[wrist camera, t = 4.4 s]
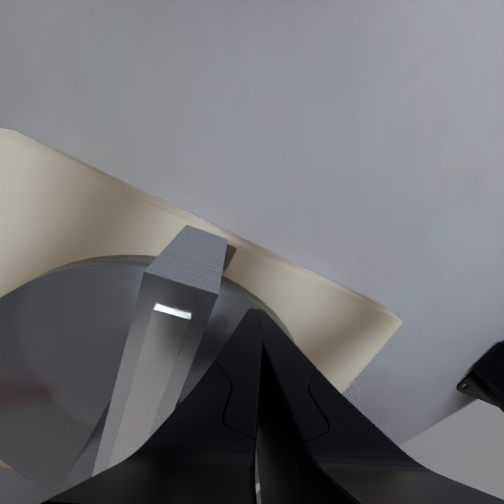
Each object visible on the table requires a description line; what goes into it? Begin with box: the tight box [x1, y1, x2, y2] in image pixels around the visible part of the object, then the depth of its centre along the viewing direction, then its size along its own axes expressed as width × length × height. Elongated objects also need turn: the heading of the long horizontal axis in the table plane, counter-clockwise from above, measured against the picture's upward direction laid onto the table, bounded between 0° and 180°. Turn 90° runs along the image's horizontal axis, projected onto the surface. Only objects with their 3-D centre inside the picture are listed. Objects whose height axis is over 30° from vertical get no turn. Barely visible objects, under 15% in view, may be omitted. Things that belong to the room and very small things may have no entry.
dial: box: [0, 225, 296, 493], centre depth 10 cm, size 19×17×5 cm
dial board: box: [0, 128, 403, 494], centre depth 14 cm, size 20×20×2 cm
